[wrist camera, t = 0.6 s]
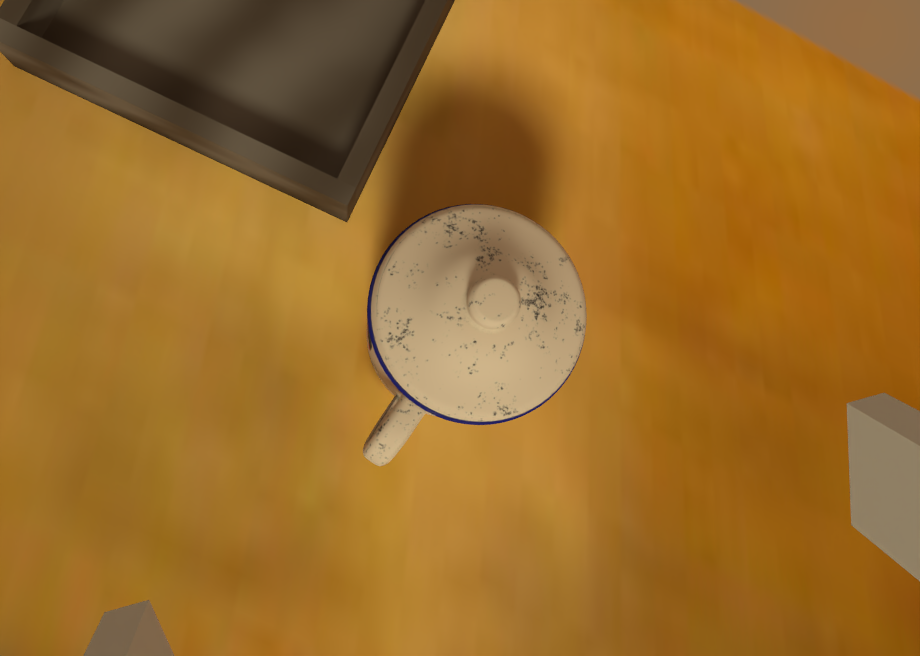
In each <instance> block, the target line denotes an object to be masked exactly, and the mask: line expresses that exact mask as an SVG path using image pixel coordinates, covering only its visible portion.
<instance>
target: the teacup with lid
mask: <svg viewBox="0 0 920 656" xmlns="http://www.w3.org/2000/svg"><path fill="white" fill-rule="evenodd" d="M367 319H368V322H367V345H368V351H369V355H370V359H371V362H372V364H373V367H374V369H375V371H376V373H377V375H378V376H379V378H380V380H381V381H382V382H383V384H384V385H385V386H386V388H387V389H388V390H389V391H390V392H391V393H392V394H393V395H394V396H395V397H394V398H393V400H392V401H391V403H390V404H389V406H388V407H387V409H386V410H385V412H384V413H383V415H382V416H381V418H380V419H379V421H378V422H377V424H376V425H375V427H374V428H373V430H372V432H371V433H370V435H369V437H368V438H367V440H366V442H365V444H364V447H363V454H364V456H365V458H366V459H368V460H369V461H371V462H372V463H374V464H375V465H378V466H383V465H385V464H387V463H389V462H390V461H391V460H392V459H393V458H394V456H395V455H396V454H397V453H398V451H399V450H400V449H401V448H402V446H403V445H404V444H405V442H406V441H407V439H408V438H409V437H410V435H411V434H412V432H413V431H414V429H415V428H416V426H417V425H418V423H419V422H420V420H421V419H422V417H423V416H424V414H429V415H433V416H437V417H440V418H443V419H446V420H449V421H453V422H457V423H463V424H471V425H488V424H496V423H502V422H506V421H510V420H513V419H516V418H518V417H521V416H523V415H525V414H527V413H529V412H531V411H533V410H535V409H536V408H538V407H540V406H541V405H542V404H544V403H545V402H546V401H547V400H549V399H550V398H551V397H552V396H553V395H554V394H555V393H556V392H557V391H558V390H559V389H560V388H561V386H562V385H563V384H564V383H565V381H566V380H567V378H568V377H569V376H570V374H571V372H572V370H573V369H574V367H575V365H576V362H577V360H578V358H579V355H580V352H581V349H582V346H583V341H584V337H585V329H586V302H585V296H584V291H583V287H582V283H581V281H580V278H579V275H578V273H577V270H576V268H575V266H574V264H573V262H572V261H571V259H570V257H569V255H568V254H567V253H566V251H565V250H564V248H563V247H562V246H561V245H560V244H559V242H558V241H557V240H556V239H555V238H554V237H553V236H552V235H551V234H550V233H549V232H548V231H546V230H545V229H544V228H543V227H541V226H540V225H539V224H537V223H536V222H534V221H533V220H531V219H529V218H527V217H525V216H523V215H521V214H519V213H517V212H514V211H512V210H508V209H505V208H501V207H496V206H492V205H483V204H465V205H457V206H451V207H447V208H444V209H440V210H437V211H435V212H432V213H430V214H428V215H426V216H424V217H422V218H420V219H419V220H417V221H416V222H414V223H413V224H411V225H410V226H409V227H407V228H406V229H405V230H404V231H402V232H401V233H400V234H399V235H398V236H397V237H396V238H395V239H394V241H393V242H392V243H391V244H390V246H389V247H388V248H387V250H386V251H385V253H384V254H383V256H382V258H381V260H380V261H379V263H378V265H377V268H376V270H375V273H374V275H373V278H372V282H371V285H370V290H369V296H368V306H367Z"/></svg>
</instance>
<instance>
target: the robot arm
mask: <svg viewBox="0 0 920 656" xmlns="http://www.w3.org/2000/svg"><path fill="white" fill-rule="evenodd" d="M847 420H848V446H849V472H850V499H851V525H852V526H853V527H855V528H856V529H857V530H858V531H859V532H861V533H862V534H863V535H864V536H865V537H867V538H868V539H869V540H870V541H872V542H873V543H874V544H875V545H876V546H878V547H879V548H880V549H881V550H882V551H884V552H885V553H886V554H887V555H889V556H890V557H891V558H892V559H893V560H895V561H896V562H897V563H898V564H899V565H901V566H902V567H903V568H904V569H906V570H907V571H908V572H909V573H910V574H912V575H913V576H914V577H915V578H916V579H918V580H919V581H920V411H918V410H916V409H914V408H912V407H910V406H908V405H907V404H905V403H903V402H901V401H899V400H897V399H895V398H893V397H891V396H889V395H888V394H886V393H882V394H878V395H875V396H871V397H868V398H864V399H860V400H857V401H853V402H850V403H847ZM84 656H174V654H173V652H172V650H171V647H170V645H169V643H168V641H167V639H166V636H165V634H164V632H163V630H162V628H161V625H160V623H159V621H158V619H157V617H156V614H155V612H154V610H153V608H152V606H151V603H150V601H149V600H147V601H143V602H140V603H136V604H133V605H129V606H126V607H122V608H119V609H115V610H111V611H108V612H105V613H104V615H103V617H102V619H101V621H100V623H99V625H98V627H97V629H96V631H95V633H94V635H93V637H92V639H91V641H90V643H89V646H88V648H87V650H86V652H85V654H84Z"/></svg>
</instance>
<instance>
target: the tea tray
mask: <svg viewBox="0 0 920 656" xmlns="http://www.w3.org/2000/svg"><path fill="white" fill-rule="evenodd" d="M454 1H455V0H5V1H4V2H3V4H2V5H1V7H0V52H1V53H2V54H3V55H4V56H5V57H6V58H7V59H8V60H9V61H10V62H11V63H12V64H13V65H14V66H15V67H17V68H20V69H22V70H24V71H26V72H28V73H30V74H32V75H34V76H37V77H39V78H41V79H43V80H45V81H47V82H49V83H51V84H54V85H56V86H58V87H60V88H62V89H64V90H66V91H68V92H71V93H73V94H75V95H77V96H79V97H81V98H83V99H86V100H88V101H90V102H92V103H94V104H96V105H98V106H100V107H103V108H105V109H107V110H109V111H111V112H113V113H115V114H117V115H120V116H122V117H124V118H126V119H128V120H130V121H132V122H134V123H137V124H139V125H141V126H143V127H145V128H147V129H149V130H152V131H154V132H156V133H158V134H160V135H162V136H164V137H166V138H169V139H171V140H173V141H175V142H177V143H179V144H181V145H183V146H186V147H188V148H190V149H192V150H194V151H196V152H198V153H200V154H203V155H205V156H207V157H209V158H211V159H213V160H215V161H218V162H220V163H222V164H224V165H226V166H228V167H230V168H232V169H235V170H237V171H239V172H241V173H243V174H245V175H247V176H249V177H252V178H254V179H256V180H258V181H260V182H262V183H264V184H267V185H269V186H271V187H273V188H275V189H277V190H279V191H281V192H284V193H286V194H288V195H290V196H292V197H294V198H296V199H298V200H301V201H303V202H305V203H307V204H309V205H311V206H313V207H315V208H318V209H320V210H322V211H324V212H326V213H328V214H330V215H333V216H335V217H337V218H339V219H341V220H343V221H345V222H347V221H348V219H349V217H350V215H351V213H352V211H353V209H354V207H355V205H356V203H357V201H358V199H359V197H360V195H361V193H362V190H363V188H364V186H365V184H366V182H367V180H368V178H369V176H370V174H371V172H372V170H373V168H374V166H375V164H376V162H377V160H378V157H379V155H380V153H381V151H382V149H383V147H384V145H385V143H386V141H387V139H388V137H389V135H390V133H391V131H392V129H393V127H394V124H395V122H396V120H397V118H398V116H399V114H400V112H401V110H402V108H403V106H404V104H405V102H406V100H407V98H408V96H409V94H410V91H411V89H412V87H413V85H414V83H415V81H416V79H417V77H418V75H419V73H420V71H421V69H422V67H423V65H424V63H425V61H426V59H427V56H428V54H429V52H430V50H431V48H432V46H433V44H434V42H435V40H436V38H437V36H438V34H439V32H440V30H441V28H442V26H443V23H444V21H445V19H446V17H447V15H448V13H449V11H450V9H451V7H452V5H453V3H454Z"/></svg>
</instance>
